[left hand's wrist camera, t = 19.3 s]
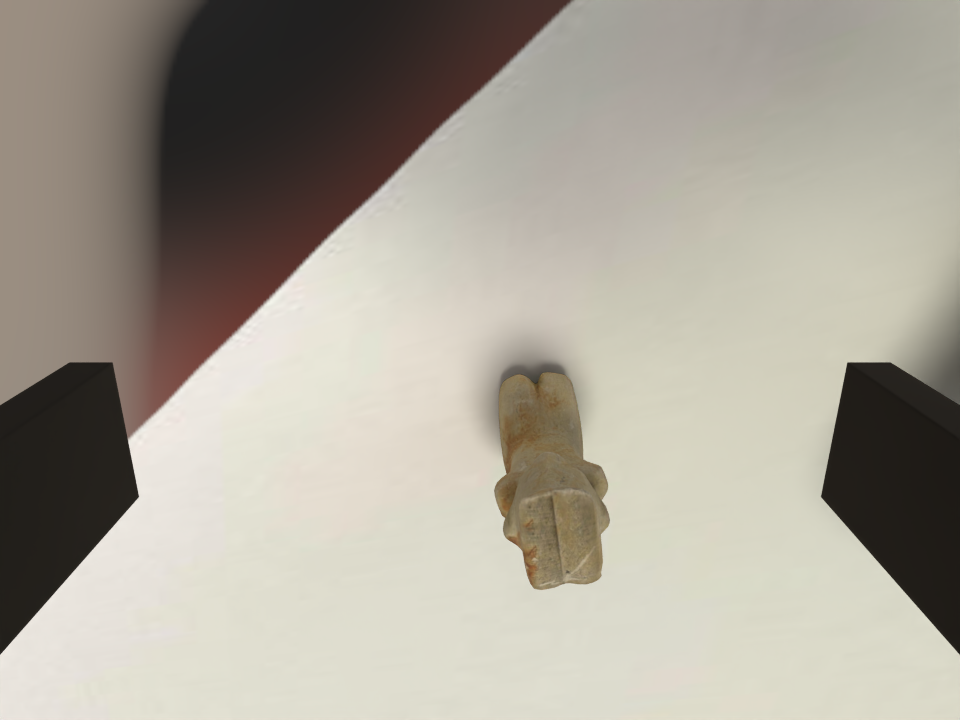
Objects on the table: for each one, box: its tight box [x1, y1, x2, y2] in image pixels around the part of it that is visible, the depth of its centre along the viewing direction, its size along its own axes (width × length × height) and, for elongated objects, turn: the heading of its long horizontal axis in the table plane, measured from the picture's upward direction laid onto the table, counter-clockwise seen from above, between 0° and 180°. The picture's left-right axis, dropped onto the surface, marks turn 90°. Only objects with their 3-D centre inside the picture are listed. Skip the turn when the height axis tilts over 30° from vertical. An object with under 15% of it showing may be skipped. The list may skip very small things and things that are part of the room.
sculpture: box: [494, 372, 610, 590], centre depth 37 cm, size 6×7×15 cm
